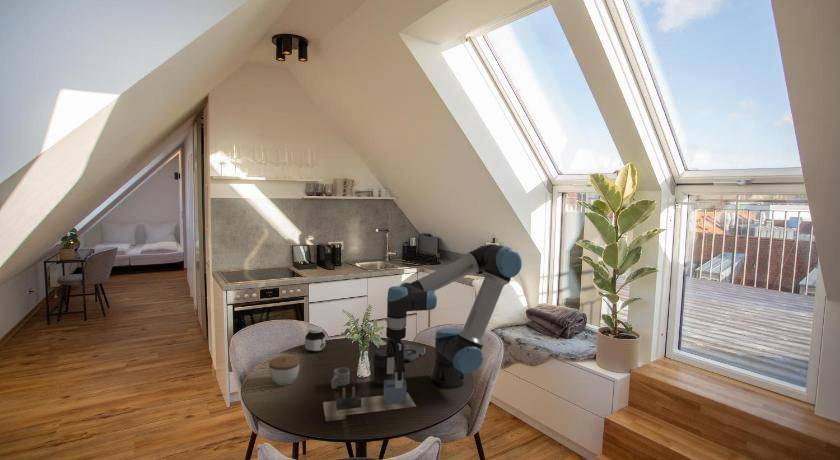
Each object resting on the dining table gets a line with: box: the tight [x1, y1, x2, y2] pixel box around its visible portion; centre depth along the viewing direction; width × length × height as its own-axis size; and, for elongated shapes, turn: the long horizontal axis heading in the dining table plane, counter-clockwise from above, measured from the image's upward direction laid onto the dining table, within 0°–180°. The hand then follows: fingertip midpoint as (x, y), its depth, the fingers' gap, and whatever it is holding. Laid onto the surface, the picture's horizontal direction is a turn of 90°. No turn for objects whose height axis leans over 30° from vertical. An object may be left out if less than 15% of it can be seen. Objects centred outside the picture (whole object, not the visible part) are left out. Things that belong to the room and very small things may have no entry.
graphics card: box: [403, 343, 426, 362], centre depth 228 cm, size 17×4×12 cm
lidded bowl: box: [268, 355, 301, 386], centre depth 194 cm, size 13×13×11 cm
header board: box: [322, 386, 417, 422], centre depth 173 cm, size 34×12×9 cm, turn 107°
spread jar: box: [304, 325, 326, 354], centre depth 234 cm, size 12×11×12 cm
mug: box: [330, 367, 350, 390], centre depth 191 cm, size 10×7×7 cm, turn 154°
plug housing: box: [383, 377, 408, 405], centre depth 176 cm, size 8×4×8 cm, turn 107°
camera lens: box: [373, 349, 393, 388], centre depth 192 cm, size 8×8×15 cm
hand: (394, 380), depth 175 cm, fingers open, 13 cm apart
